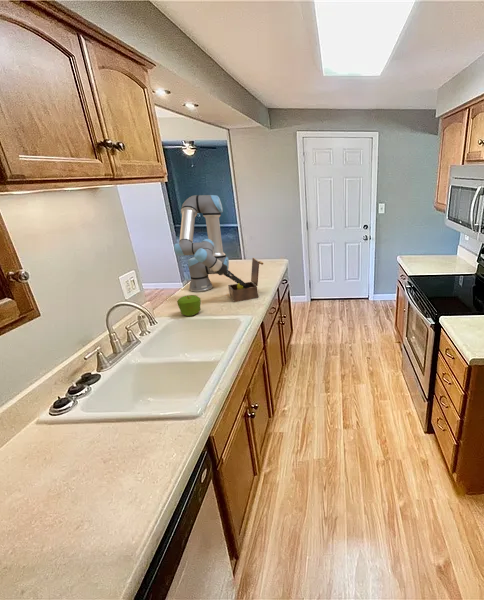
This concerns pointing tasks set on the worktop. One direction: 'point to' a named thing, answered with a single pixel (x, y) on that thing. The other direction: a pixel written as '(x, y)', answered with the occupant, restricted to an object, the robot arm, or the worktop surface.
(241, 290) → the chest
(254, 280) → the lid
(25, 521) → the worktop surface
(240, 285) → the lemon
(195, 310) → the apple
